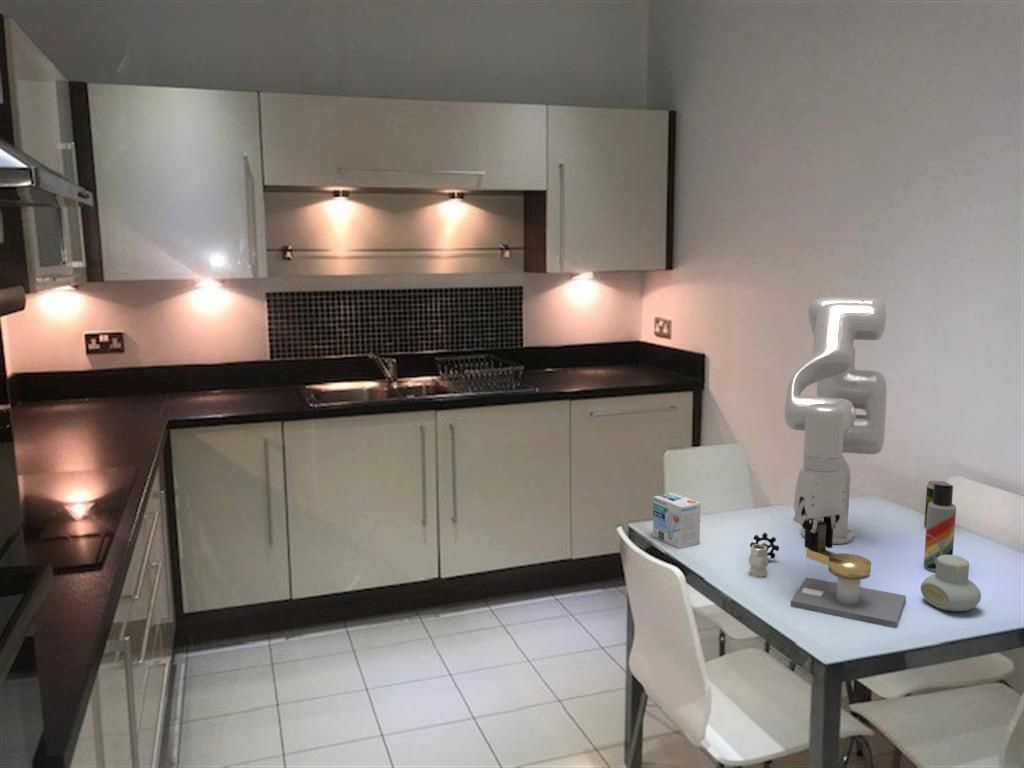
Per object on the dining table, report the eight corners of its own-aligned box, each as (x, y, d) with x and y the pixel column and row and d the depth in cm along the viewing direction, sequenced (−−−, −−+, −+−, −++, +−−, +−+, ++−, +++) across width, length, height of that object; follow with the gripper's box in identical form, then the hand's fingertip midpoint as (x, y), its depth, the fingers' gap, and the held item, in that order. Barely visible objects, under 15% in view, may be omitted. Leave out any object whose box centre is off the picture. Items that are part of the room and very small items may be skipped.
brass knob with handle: (822, 553, 184) (824, 516, 183) (878, 574, 173) (881, 535, 171) (797, 560, 180) (799, 523, 179) (853, 582, 169) (855, 543, 167)
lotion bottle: (924, 571, 192) (930, 486, 188) (922, 562, 197) (928, 479, 193) (953, 574, 190) (959, 488, 186) (949, 565, 195) (956, 481, 192)
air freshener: (987, 613, 171) (991, 565, 169) (956, 620, 168) (960, 572, 166) (942, 592, 181) (946, 547, 179) (912, 598, 178) (915, 553, 176)
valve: (772, 580, 189) (778, 561, 200) (773, 551, 188) (779, 534, 198) (741, 575, 192) (749, 557, 202) (742, 548, 190) (750, 530, 201)
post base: (806, 582, 187) (807, 551, 186) (905, 601, 177) (907, 569, 176) (790, 606, 175) (791, 574, 174) (896, 627, 165) (898, 593, 164)
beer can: (938, 524, 222) (941, 479, 220) (951, 531, 217) (955, 485, 215) (919, 525, 221) (922, 481, 219) (932, 532, 216) (935, 487, 214)
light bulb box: (651, 536, 217) (652, 495, 215) (671, 531, 220) (672, 491, 218) (680, 549, 208) (681, 507, 206) (700, 544, 211) (701, 502, 209)
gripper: (838, 454, 184) (834, 536, 187) (778, 463, 177) (775, 548, 180) (866, 462, 177) (861, 547, 180) (804, 472, 171) (800, 559, 174)
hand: (818, 546), depth 180 cm, fingers closed on brass knob with handle, 3 cm apart
